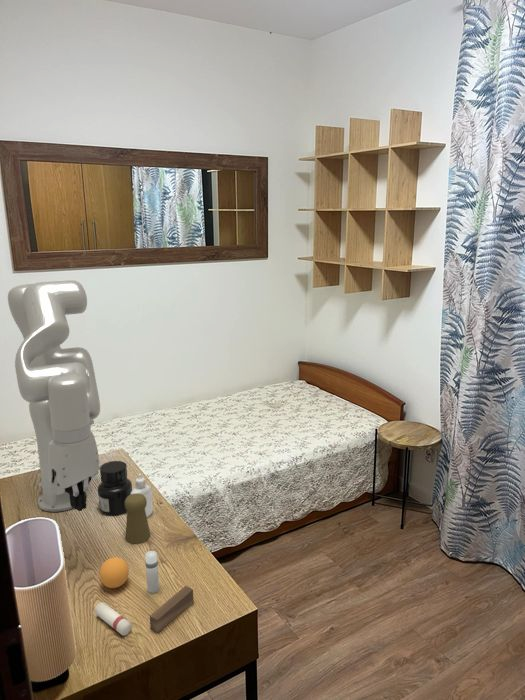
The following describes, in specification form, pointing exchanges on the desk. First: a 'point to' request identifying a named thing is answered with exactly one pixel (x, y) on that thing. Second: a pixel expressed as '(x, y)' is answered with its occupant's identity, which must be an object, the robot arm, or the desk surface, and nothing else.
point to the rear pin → (152, 571)
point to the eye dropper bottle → (144, 493)
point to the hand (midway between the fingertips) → (78, 507)
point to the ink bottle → (113, 488)
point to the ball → (114, 572)
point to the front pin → (113, 618)
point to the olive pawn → (136, 519)
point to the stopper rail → (171, 609)
